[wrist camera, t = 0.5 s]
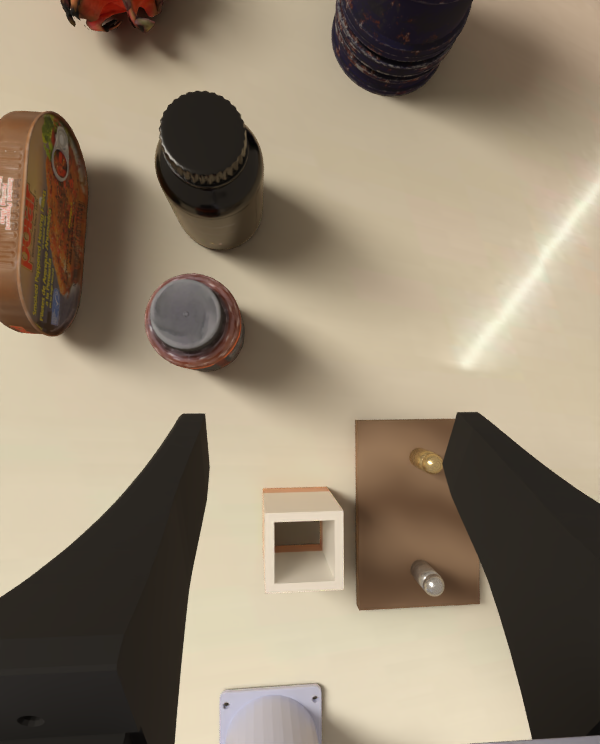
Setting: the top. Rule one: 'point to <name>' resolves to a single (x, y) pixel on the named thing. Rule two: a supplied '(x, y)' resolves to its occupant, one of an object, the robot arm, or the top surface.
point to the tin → (41, 222)
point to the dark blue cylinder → (395, 40)
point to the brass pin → (426, 460)
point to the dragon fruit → (111, 12)
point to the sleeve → (303, 562)
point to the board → (408, 519)
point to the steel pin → (427, 578)
